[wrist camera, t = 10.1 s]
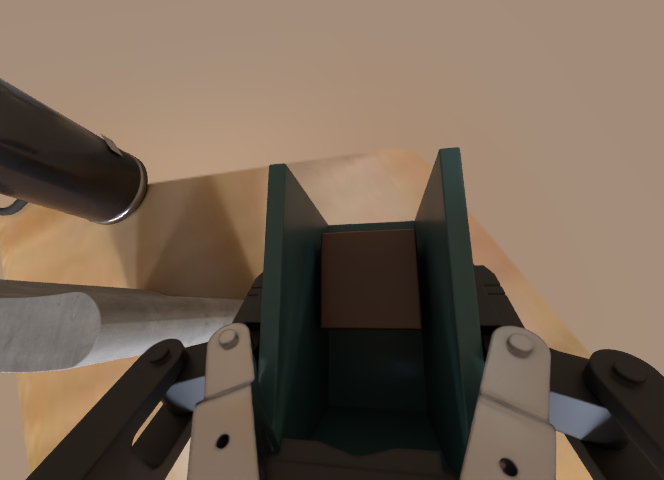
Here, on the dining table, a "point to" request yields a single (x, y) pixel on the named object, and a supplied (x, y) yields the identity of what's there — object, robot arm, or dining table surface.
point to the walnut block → (370, 281)
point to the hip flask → (97, 323)
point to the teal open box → (371, 332)
